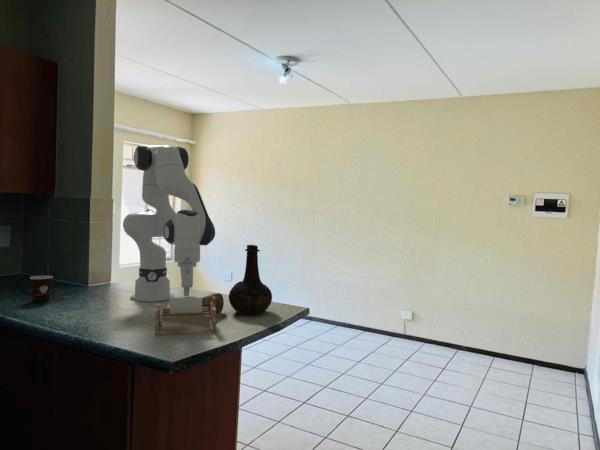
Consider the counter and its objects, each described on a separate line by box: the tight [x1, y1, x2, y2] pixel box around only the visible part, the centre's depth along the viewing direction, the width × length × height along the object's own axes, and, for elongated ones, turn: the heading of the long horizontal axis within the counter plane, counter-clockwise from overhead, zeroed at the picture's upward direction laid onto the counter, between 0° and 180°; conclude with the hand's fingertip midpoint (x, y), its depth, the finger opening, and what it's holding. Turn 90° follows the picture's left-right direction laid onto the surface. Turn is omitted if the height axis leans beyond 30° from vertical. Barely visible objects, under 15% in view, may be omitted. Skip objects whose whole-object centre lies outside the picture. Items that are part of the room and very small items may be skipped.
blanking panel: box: [169, 295, 203, 313], centre depth 158 cm, size 2×11×10 cm, turn 105°
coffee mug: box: [19, 275, 54, 303], centre depth 192 cm, size 12×9×10 cm
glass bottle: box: [228, 244, 273, 316], centre depth 184 cm, size 18×18×28 cm
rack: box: [154, 296, 217, 336], centre depth 158 cm, size 13×20×11 cm, turn 105°
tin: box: [202, 292, 225, 316], centre depth 177 cm, size 15×3×8 cm, turn 160°
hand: (186, 295), depth 158 cm, fingers closed
